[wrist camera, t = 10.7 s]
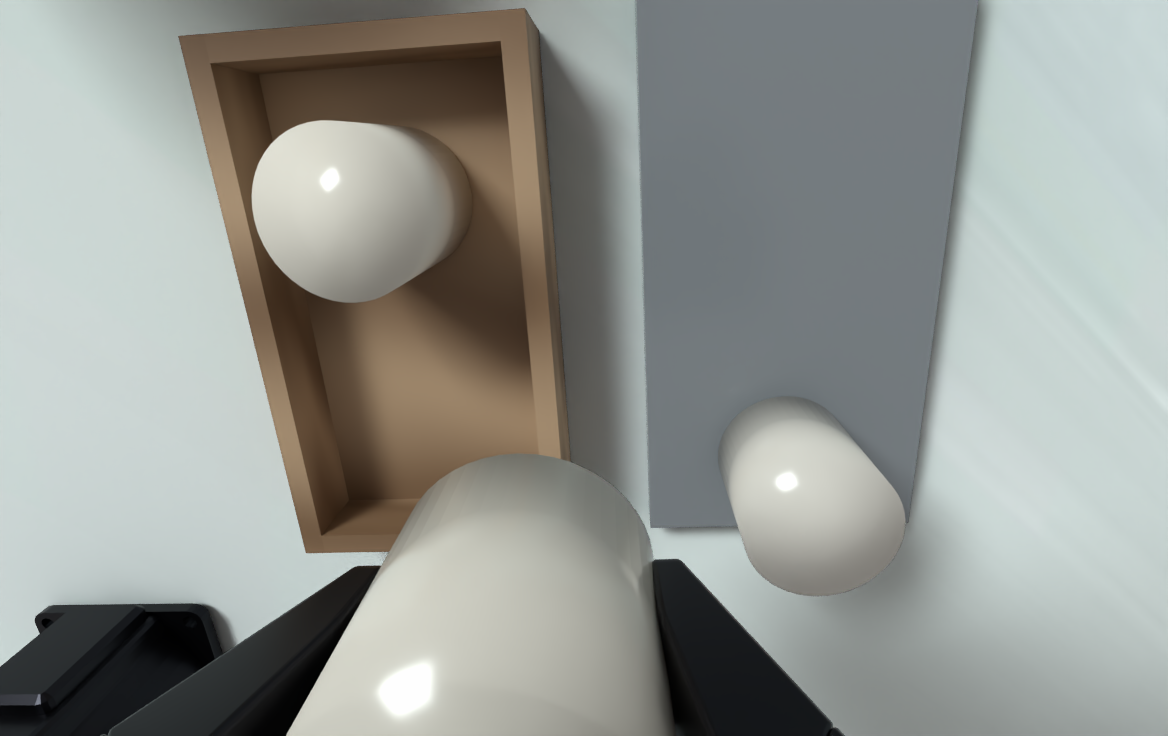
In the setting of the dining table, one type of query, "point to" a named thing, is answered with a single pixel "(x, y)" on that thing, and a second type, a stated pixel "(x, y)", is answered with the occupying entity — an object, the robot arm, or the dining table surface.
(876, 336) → the slate board
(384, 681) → the pebble
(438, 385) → the walnut bin
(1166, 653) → the dining table surface
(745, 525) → the white rounded stone
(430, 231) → the pebble
